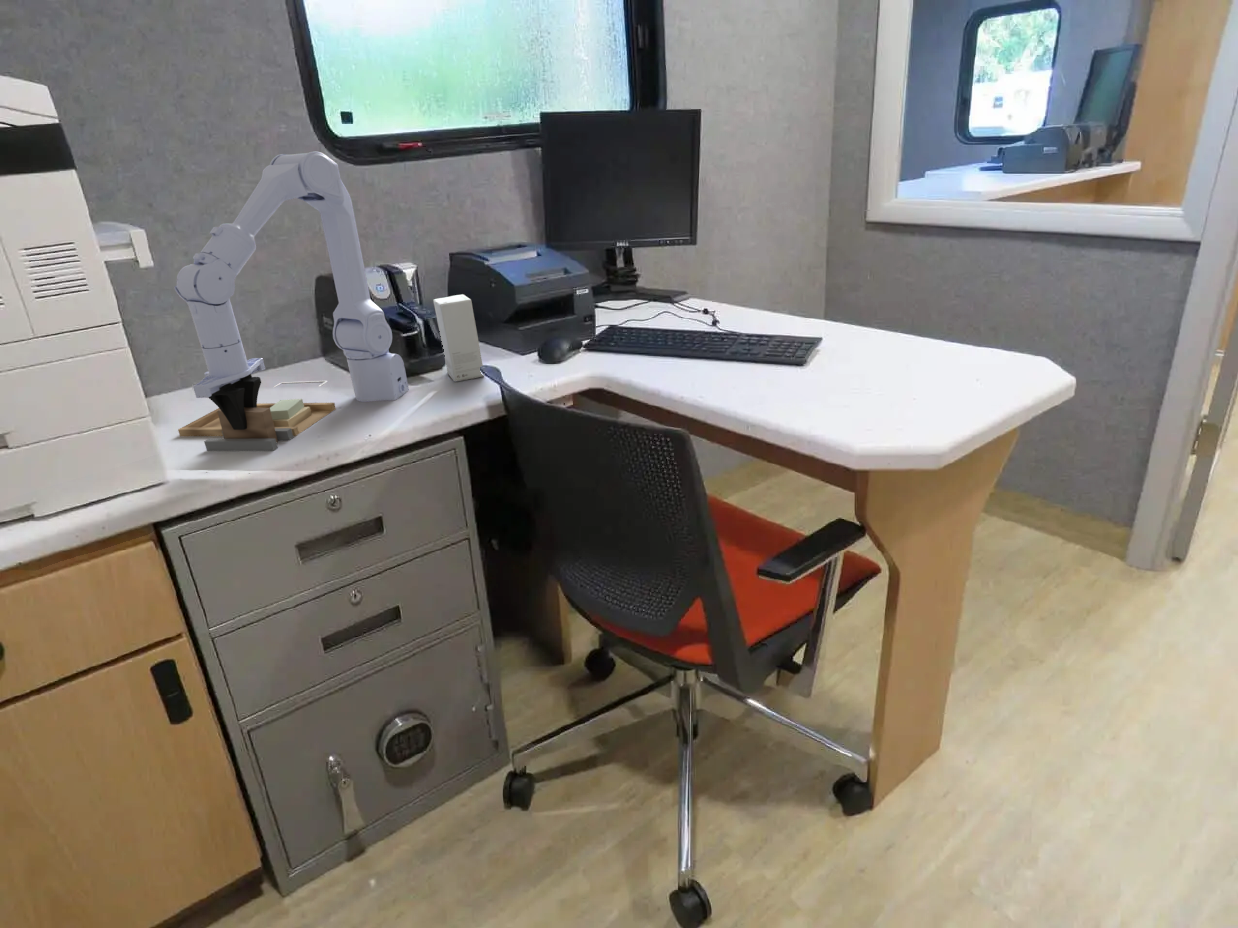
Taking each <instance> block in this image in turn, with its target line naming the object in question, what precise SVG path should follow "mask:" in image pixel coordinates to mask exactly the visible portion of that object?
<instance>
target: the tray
mask: <svg viewBox="0 0 1238 928" xmlns="http://www.w3.org/2000/svg"><path fill="white" fill-rule="evenodd" d="M276 403H277V402H273V403H272V402H271V403H267V402H266V403H264V402H263V403H257V408H270V407H272V406H273V405H274V404H276ZM303 404H304V407H310V409H311V413H312V415H311V416H309V417H308V418H306V419H305V420H303V421H302V422H300V423H299V424H297V425H295V426H294V427H274V428H291V430H292V434H293V437H297V436H298V435H300V434H301V433H302V432H304V431H305V430H307V429H308V428H310V427H312V426H313V425H314V424H316V423H317V422H319V421H321V420H322V419H323V418H325V417H326V416H328V415H329V414H331V413H332V412H334V411H335V410H336V409H337V408H336V404H335V402H303ZM218 410H220V408H219V407H218V408H216V409H214V410H212V411H210V412H209V413H207V414H205V415H203V416H202V417H199V418H197V419H196V420H194V421H191V422H190V423H187V424H186V425H184V426H182V427H180V428H178V430H177V432H178V434H179V437H223V434H222V427H221V424H220V420H219V416H218V412H217V411H218Z"/></svg>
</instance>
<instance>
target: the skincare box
mask: <svg viewBox="0 0 1238 928" xmlns="http://www.w3.org/2000/svg"><path fill="white" fill-rule="evenodd" d="M432 300H433V301H432V302H433V307H434V311H435V316H436V322H437V327H438V330H439V331H440V332H439V336H441V337H440V341H442V342H441V346H442V345H443V347H442V350H443V349H444V352H443V356H444V355H445V357H444V361H445V366H446V371H447V374H448V376H450V378H451V379H452V380H453V382H462V381H466V380H467V381H468V380H473V379H476V378H477V379H478V378H482V377H484V376H483V375H482V374H481V372H480V367H481V366H483V367H484V365H483V359H482V355H481V348H480V347H481V346H480V343H479V342H480V341H479V337H478V330H477V326H476V320H475V313H474V309H473V303H472V299H471V298H469V297H468V296H466V295H465V294H463V293H462V294H456V295H455V294H454V295H450V296H446V297H438V298H435V299H432Z"/></svg>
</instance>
